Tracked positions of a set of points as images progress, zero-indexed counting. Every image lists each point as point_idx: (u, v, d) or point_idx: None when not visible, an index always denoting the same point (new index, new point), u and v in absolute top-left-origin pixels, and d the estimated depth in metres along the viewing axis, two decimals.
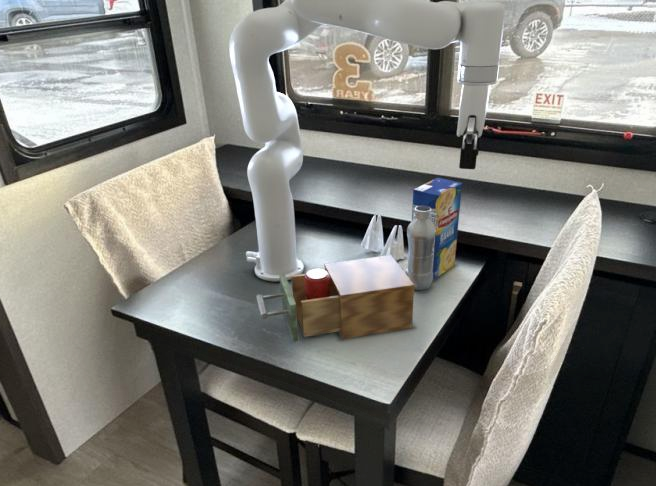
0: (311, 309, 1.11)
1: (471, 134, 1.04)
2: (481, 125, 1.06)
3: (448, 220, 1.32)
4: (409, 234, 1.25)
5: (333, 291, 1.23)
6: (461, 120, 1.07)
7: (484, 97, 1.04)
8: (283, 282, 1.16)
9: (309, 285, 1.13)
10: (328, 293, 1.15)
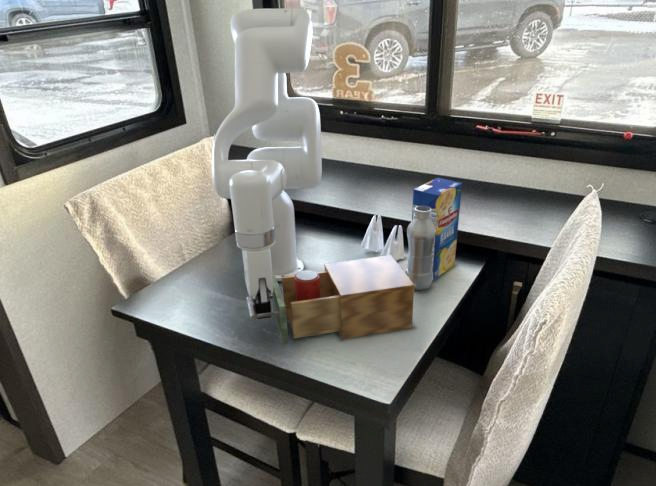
0: (301, 311, 1.10)
1: None
2: (272, 284, 1.07)
3: (448, 220, 1.32)
4: (409, 234, 1.25)
5: (324, 292, 1.23)
6: (251, 283, 1.06)
7: (269, 260, 1.05)
8: (273, 283, 1.16)
9: (299, 287, 1.12)
10: (318, 295, 1.15)
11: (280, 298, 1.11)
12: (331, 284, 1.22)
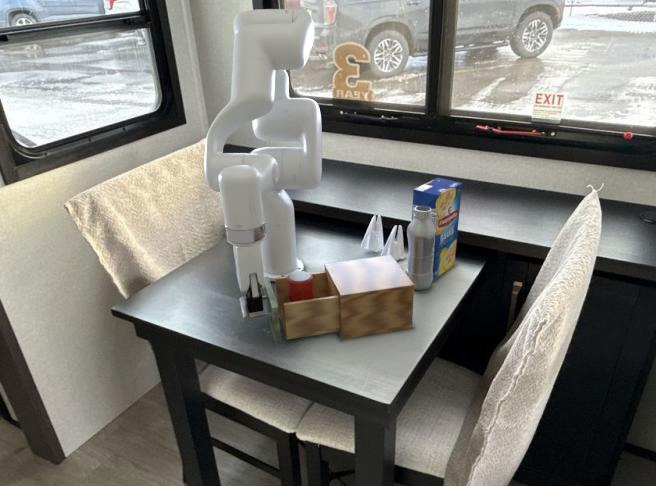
0: (294, 312, 1.10)
1: None
2: (263, 279, 1.07)
3: (448, 220, 1.32)
4: (409, 234, 1.25)
5: (317, 293, 1.22)
6: (242, 279, 1.05)
7: (260, 255, 1.05)
8: (266, 284, 1.16)
9: (292, 288, 1.12)
10: (311, 296, 1.14)
11: (273, 299, 1.10)
12: (325, 285, 1.22)
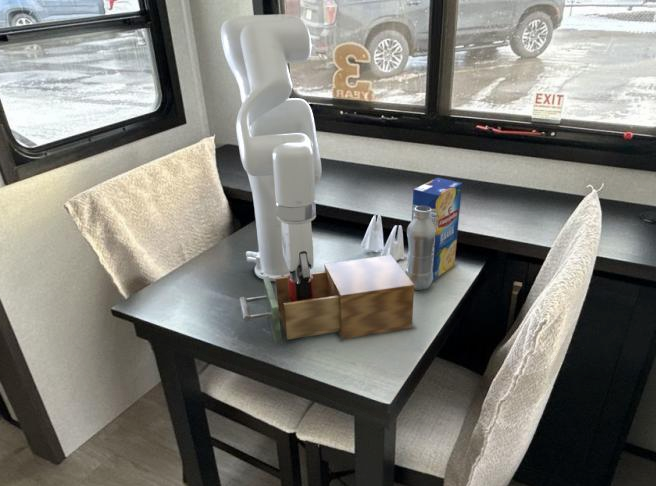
0: (294, 312, 1.10)
1: (308, 277, 1.06)
2: (312, 258, 1.07)
3: (448, 220, 1.32)
4: (409, 234, 1.25)
5: (318, 293, 1.22)
6: (292, 257, 1.05)
7: (310, 233, 1.04)
8: (267, 284, 1.16)
9: (292, 287, 1.12)
10: (312, 296, 1.14)
11: (273, 299, 1.10)
12: (325, 285, 1.22)
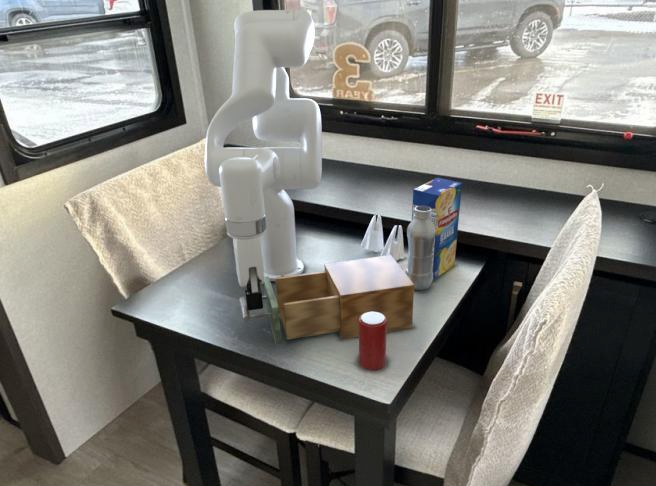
0: (294, 312, 1.10)
1: None
2: (263, 274, 1.05)
3: (448, 220, 1.32)
4: (409, 234, 1.25)
5: (317, 293, 1.22)
6: (241, 273, 1.04)
7: (260, 249, 1.03)
8: (266, 284, 1.16)
9: (365, 331, 1.01)
10: (385, 339, 1.04)
11: (273, 299, 1.10)
12: (325, 285, 1.22)
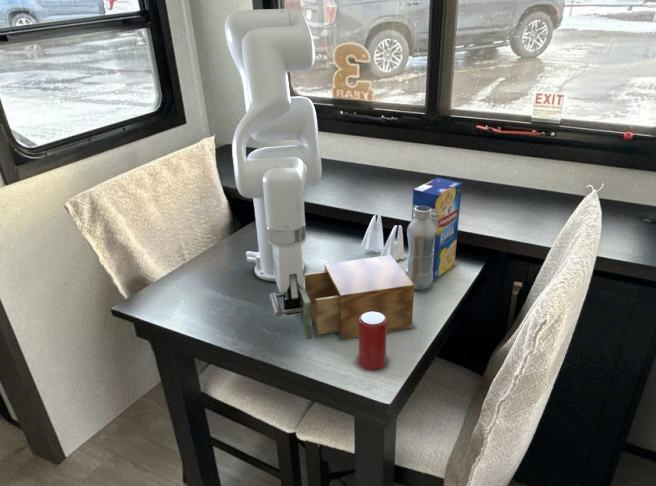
0: (325, 307, 1.11)
1: None
2: (302, 280, 1.08)
3: (448, 220, 1.32)
4: (409, 234, 1.25)
5: None
6: (282, 279, 1.07)
7: (300, 256, 1.06)
8: None
9: (365, 331, 1.01)
10: (385, 339, 1.04)
11: (305, 294, 1.12)
12: None
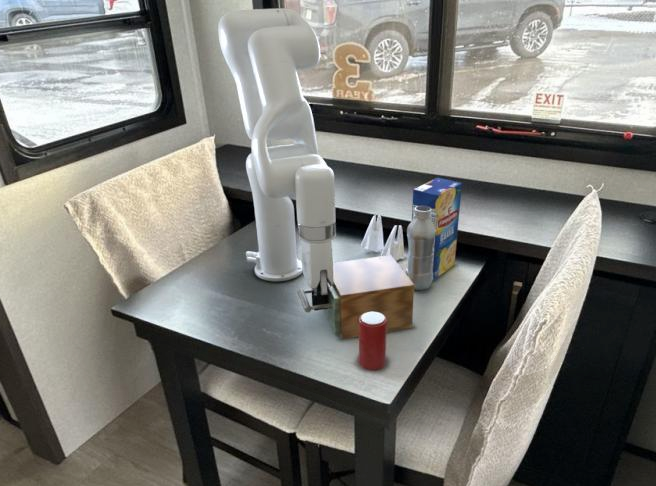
0: None
1: None
2: (332, 276, 1.10)
3: (448, 220, 1.32)
4: (409, 234, 1.25)
5: None
6: (313, 275, 1.08)
7: (331, 252, 1.07)
8: None
9: (365, 331, 1.01)
10: (385, 339, 1.04)
11: (334, 290, 1.13)
12: None
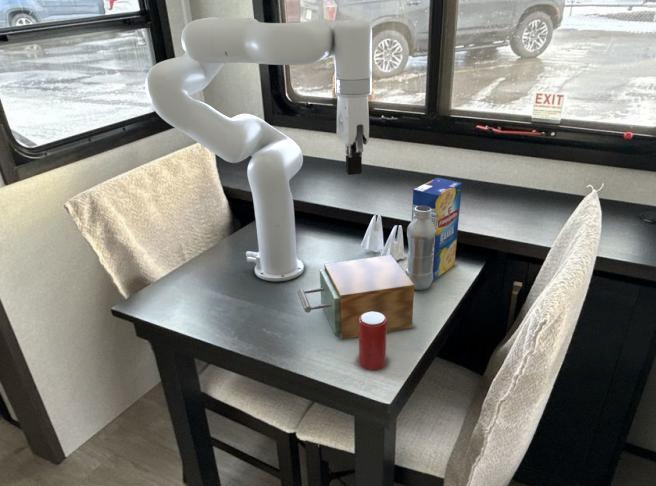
0: None
1: (361, 152, 1.16)
2: (368, 133, 1.15)
3: (448, 220, 1.32)
4: (409, 234, 1.25)
5: None
6: (350, 130, 1.13)
7: (367, 107, 1.13)
8: (324, 276, 1.18)
9: (365, 331, 1.01)
10: (385, 339, 1.04)
11: (334, 290, 1.13)
12: None
